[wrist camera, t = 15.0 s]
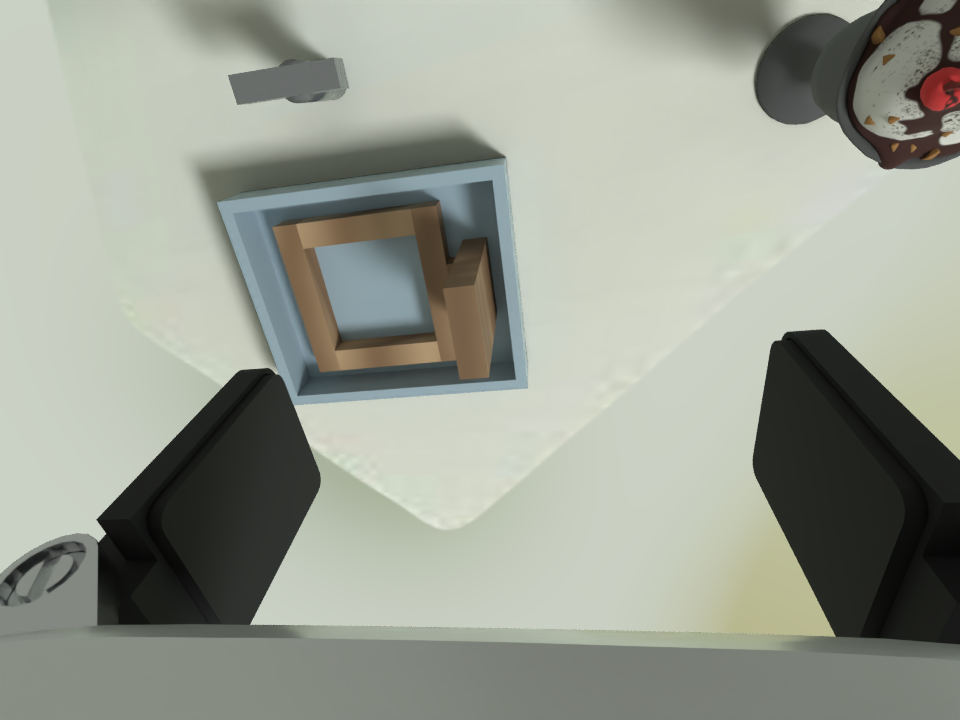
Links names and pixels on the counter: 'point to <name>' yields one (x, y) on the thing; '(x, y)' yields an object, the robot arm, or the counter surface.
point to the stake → (292, 82)
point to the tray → (380, 278)
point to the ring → (449, 282)
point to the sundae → (873, 79)
